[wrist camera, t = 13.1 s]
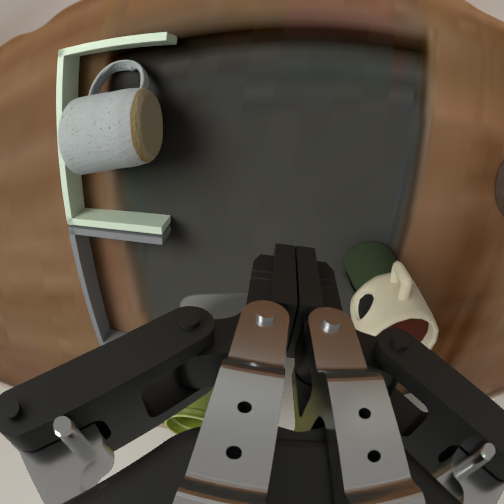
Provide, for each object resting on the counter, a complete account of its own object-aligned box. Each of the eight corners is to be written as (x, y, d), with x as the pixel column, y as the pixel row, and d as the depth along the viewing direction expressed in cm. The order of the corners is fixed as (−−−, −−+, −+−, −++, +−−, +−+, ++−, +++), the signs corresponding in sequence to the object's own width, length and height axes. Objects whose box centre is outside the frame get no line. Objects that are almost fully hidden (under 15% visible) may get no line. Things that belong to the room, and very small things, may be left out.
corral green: (177, 36, 22) (167, 32, 20) (170, 221, 32) (161, 234, 30) (74, 50, 22) (58, 50, 20) (80, 213, 32) (67, 224, 30)
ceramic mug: (171, 155, 28) (140, 175, 22) (102, 163, 29) (62, 185, 22) (163, 53, 23) (128, 43, 17) (92, 70, 24) (47, 71, 17)
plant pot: (238, 382, 46) (232, 427, 38) (220, 406, 50) (213, 446, 43) (183, 363, 45) (170, 409, 37) (171, 390, 49) (160, 430, 42)
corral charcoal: (170, 225, 32) (162, 238, 30) (178, 346, 42) (174, 361, 40) (81, 216, 32) (68, 227, 30) (107, 331, 42) (99, 345, 40)
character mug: (340, 220, 31) (372, 298, 20) (401, 218, 30) (456, 290, 19) (334, 301, 36) (352, 388, 25) (388, 297, 35) (419, 378, 24)
